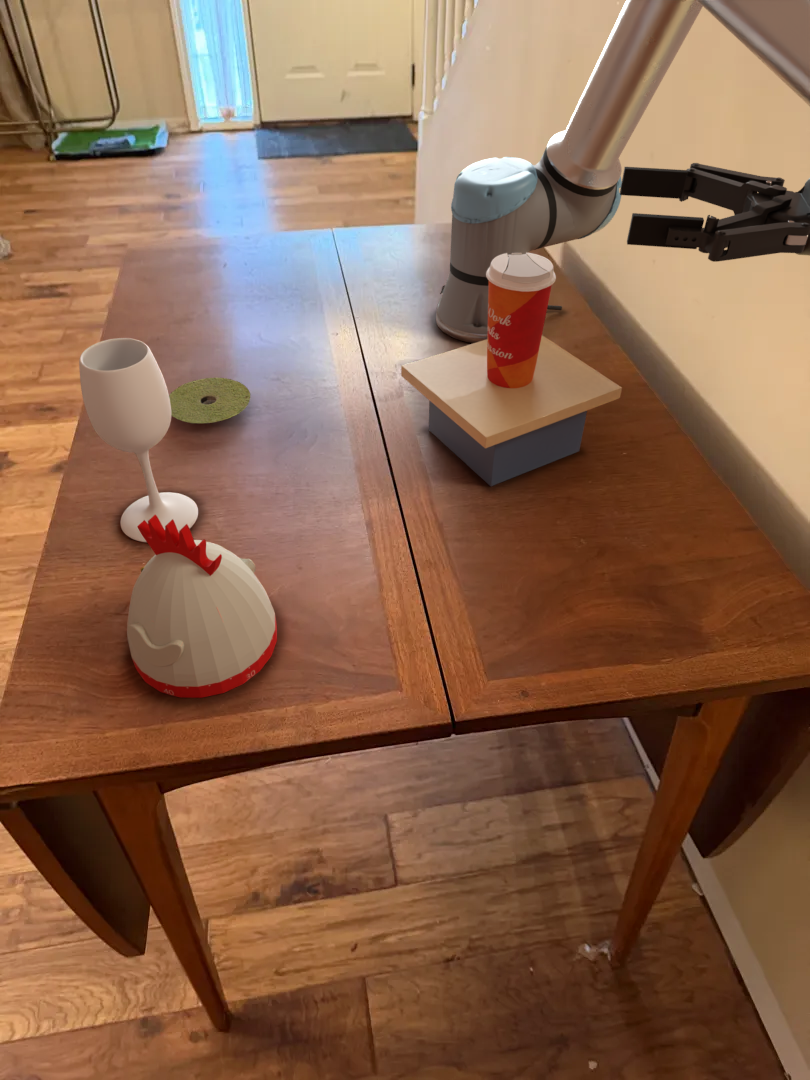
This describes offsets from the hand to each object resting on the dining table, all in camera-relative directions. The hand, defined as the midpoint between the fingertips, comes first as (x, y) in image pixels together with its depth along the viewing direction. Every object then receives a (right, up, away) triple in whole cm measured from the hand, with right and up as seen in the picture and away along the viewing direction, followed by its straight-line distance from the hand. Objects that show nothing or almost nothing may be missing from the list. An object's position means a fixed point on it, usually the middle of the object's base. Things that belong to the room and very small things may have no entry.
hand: (625, 203), depth 79 cm
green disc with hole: (-49, -17, +27) cm, 58 cm away
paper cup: (-10, -15, +15) cm, 23 cm away
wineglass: (-51, -32, +10) cm, 61 cm away
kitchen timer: (-42, -44, -3) cm, 61 cm away
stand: (-10, -21, +22) cm, 32 cm away
